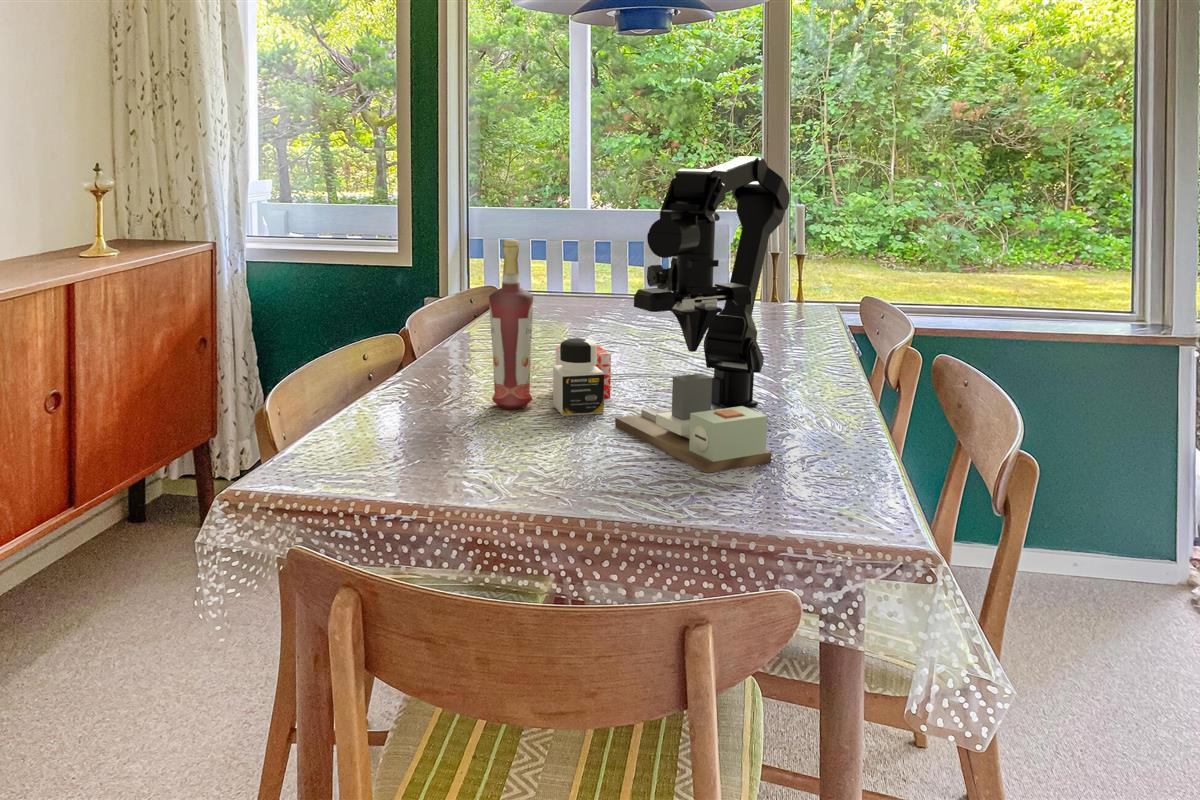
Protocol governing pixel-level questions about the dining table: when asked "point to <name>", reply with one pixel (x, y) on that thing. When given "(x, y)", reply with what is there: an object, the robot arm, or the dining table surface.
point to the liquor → (511, 334)
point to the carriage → (686, 402)
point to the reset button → (728, 413)
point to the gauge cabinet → (728, 434)
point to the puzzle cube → (598, 366)
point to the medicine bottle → (578, 379)
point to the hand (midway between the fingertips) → (692, 351)
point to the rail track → (679, 443)
